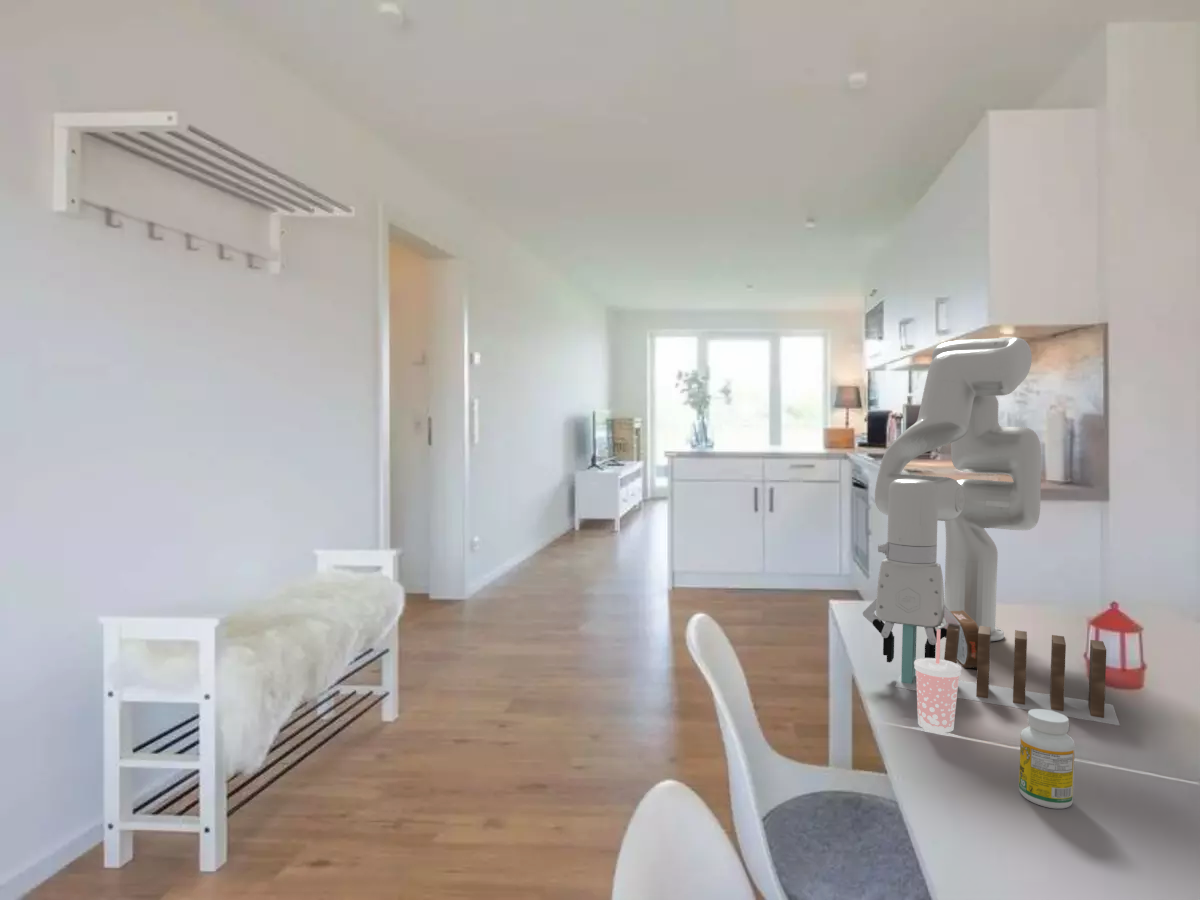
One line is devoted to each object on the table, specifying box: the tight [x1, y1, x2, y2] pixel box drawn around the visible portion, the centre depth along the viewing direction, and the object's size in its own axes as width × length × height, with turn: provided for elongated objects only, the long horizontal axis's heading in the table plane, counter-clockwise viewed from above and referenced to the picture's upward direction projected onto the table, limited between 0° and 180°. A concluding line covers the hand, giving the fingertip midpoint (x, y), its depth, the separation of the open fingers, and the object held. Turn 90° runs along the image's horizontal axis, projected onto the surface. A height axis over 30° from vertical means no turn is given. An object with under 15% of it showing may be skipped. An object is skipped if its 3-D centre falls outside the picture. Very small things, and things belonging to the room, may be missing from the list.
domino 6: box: [1087, 639, 1107, 718], centre depth 111 cm, size 2×5×10 cm, turn 151°
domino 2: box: [943, 625, 960, 664], centre depth 121 cm, size 2×5×10 cm, turn 151°
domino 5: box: [1049, 634, 1067, 711], centre depth 113 cm, size 2×5×10 cm, turn 151°
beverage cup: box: [914, 629, 963, 735], centre depth 105 cm, size 6×6×14 cm
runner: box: [894, 672, 1120, 726], centre depth 117 cm, size 30×9×1 cm, turn 61°
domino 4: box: [1012, 629, 1028, 705], centre depth 116 cm, size 2×5×10 cm, turn 151°
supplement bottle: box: [1018, 709, 1076, 810], centre depth 85 cm, size 5×5×10 cm
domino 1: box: [900, 624, 918, 684], centre depth 125 cm, size 2×5×10 cm, turn 151°
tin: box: [946, 610, 979, 669], centre depth 135 cm, size 15×3×8 cm, turn 168°
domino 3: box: [976, 626, 991, 698], centre depth 118 cm, size 2×5×10 cm, turn 151°
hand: (908, 662), depth 124 cm, fingers open, 5 cm apart
